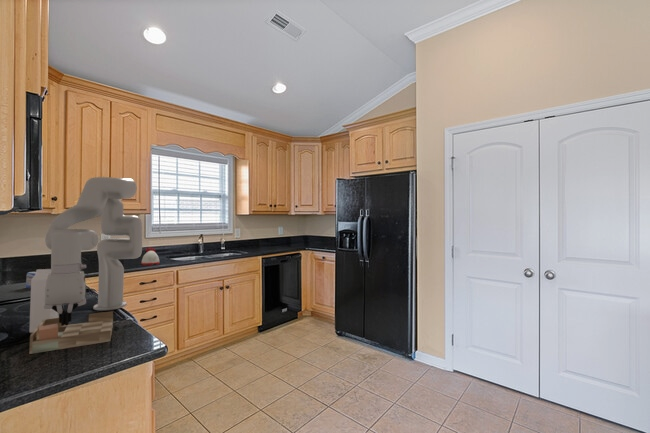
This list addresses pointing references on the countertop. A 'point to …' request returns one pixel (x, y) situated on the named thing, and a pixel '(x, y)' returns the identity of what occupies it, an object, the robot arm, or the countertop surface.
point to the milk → (39, 300)
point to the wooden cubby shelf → (74, 333)
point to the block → (48, 332)
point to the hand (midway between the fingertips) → (65, 324)
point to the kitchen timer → (150, 257)
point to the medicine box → (29, 279)
